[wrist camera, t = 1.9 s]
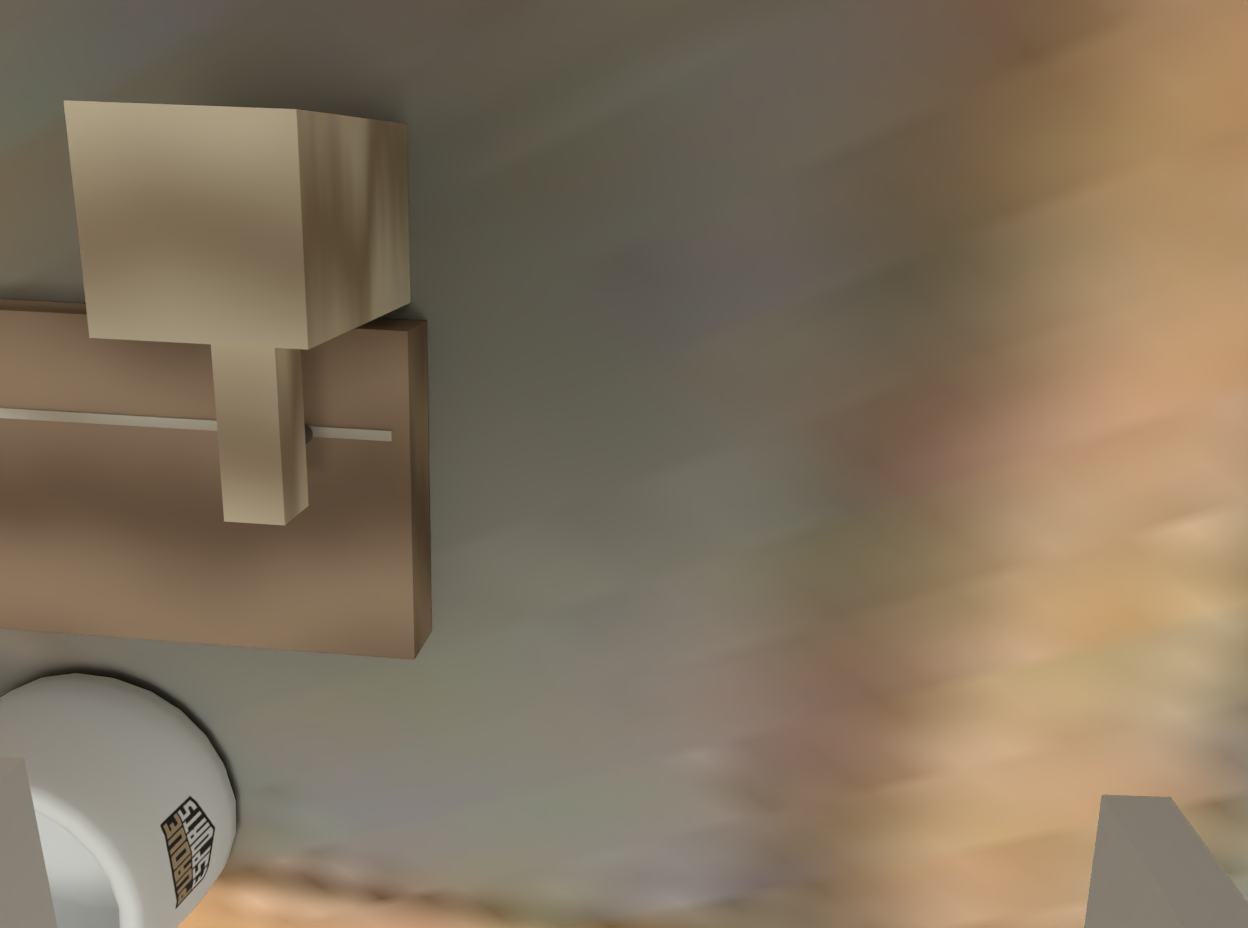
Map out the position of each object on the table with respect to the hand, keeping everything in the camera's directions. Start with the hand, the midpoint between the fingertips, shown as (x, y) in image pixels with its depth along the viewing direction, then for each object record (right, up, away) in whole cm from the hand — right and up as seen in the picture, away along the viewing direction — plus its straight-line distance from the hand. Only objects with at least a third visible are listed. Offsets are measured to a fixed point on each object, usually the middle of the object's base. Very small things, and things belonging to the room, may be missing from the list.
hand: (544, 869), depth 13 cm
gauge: (-8, +10, +18) cm, 22 cm away
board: (-15, +5, +20) cm, 25 cm away
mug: (-17, -7, +24) cm, 30 cm away
